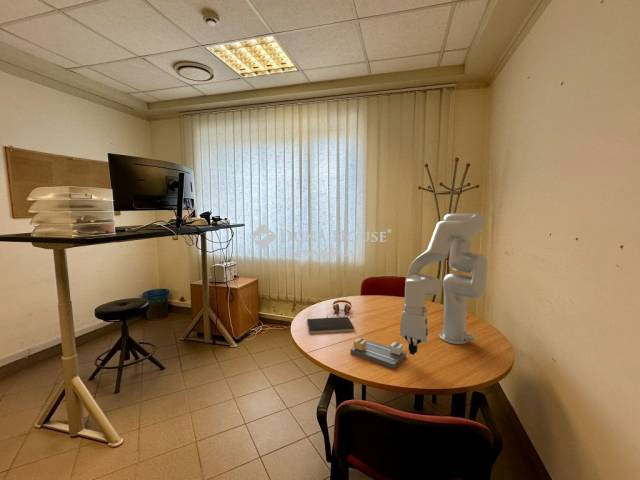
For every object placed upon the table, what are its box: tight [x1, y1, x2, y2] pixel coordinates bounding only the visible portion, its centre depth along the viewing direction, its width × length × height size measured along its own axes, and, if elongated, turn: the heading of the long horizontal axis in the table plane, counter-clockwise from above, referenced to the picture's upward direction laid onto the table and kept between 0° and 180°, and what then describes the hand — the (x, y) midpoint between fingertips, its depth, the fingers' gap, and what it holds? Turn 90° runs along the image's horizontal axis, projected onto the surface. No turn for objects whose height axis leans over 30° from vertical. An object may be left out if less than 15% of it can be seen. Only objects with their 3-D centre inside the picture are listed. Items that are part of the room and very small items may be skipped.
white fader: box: [389, 341, 404, 355], centre depth 119 cm, size 4×4×4 cm
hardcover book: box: [306, 316, 355, 335], centre depth 152 cm, size 16×23×2 cm
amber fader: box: [353, 337, 368, 351], centre depth 123 cm, size 4×4×4 cm
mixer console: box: [350, 338, 407, 370], centre depth 121 cm, size 20×12×2 cm, turn 52°
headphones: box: [326, 299, 352, 320], centre depth 170 cm, size 17×5×20 cm
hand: (412, 352), depth 115 cm, fingers closed
